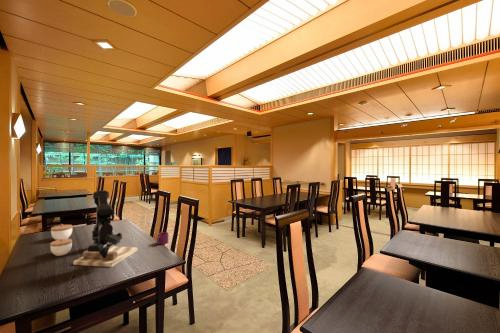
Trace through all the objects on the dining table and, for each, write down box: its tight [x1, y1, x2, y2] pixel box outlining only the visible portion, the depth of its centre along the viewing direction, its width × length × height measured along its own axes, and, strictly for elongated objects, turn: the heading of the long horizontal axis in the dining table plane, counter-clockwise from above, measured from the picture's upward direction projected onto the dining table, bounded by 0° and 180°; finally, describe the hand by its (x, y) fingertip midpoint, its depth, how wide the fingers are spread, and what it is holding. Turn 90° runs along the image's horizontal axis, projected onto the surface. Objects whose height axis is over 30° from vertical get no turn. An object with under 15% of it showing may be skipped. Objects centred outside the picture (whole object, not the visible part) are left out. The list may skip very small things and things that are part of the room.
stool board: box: [73, 245, 139, 268], centre depth 139 cm, size 23×24×2 cm
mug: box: [156, 231, 169, 245], centre depth 162 cm, size 7×10×7 cm
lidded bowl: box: [50, 223, 73, 241], centre depth 170 cm, size 13×13×11 cm
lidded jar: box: [49, 238, 73, 257], centre depth 143 cm, size 11×11×9 cm
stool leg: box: [82, 250, 117, 260], centre depth 132 cm, size 20×3×3 cm, turn 84°
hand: (104, 258), depth 128 cm, fingers closed
